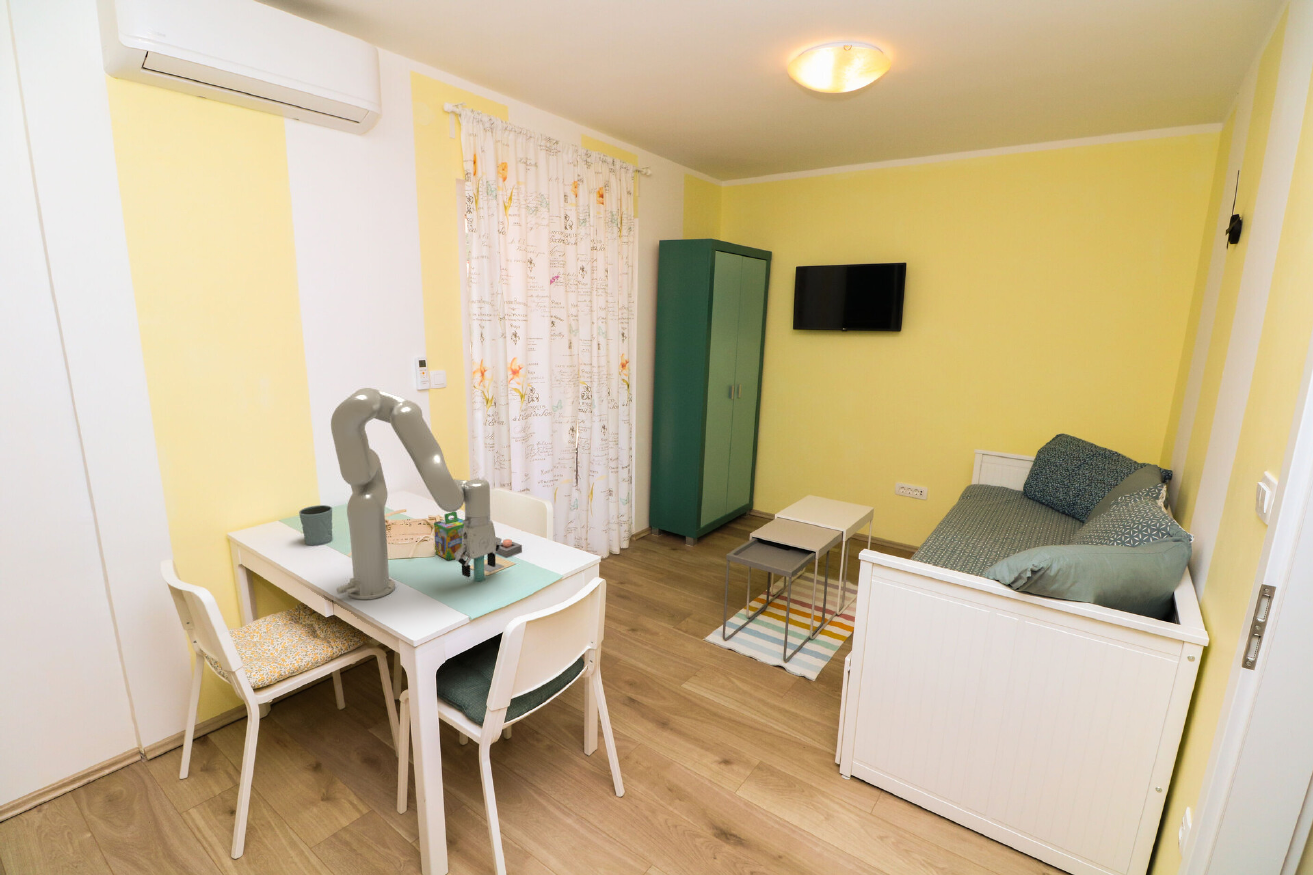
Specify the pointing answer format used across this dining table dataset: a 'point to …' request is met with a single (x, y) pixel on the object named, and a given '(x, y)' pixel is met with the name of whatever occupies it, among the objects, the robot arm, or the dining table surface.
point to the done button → (507, 543)
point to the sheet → (499, 566)
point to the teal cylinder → (479, 569)
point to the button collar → (509, 550)
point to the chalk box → (448, 536)
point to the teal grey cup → (317, 524)
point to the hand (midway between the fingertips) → (479, 570)
